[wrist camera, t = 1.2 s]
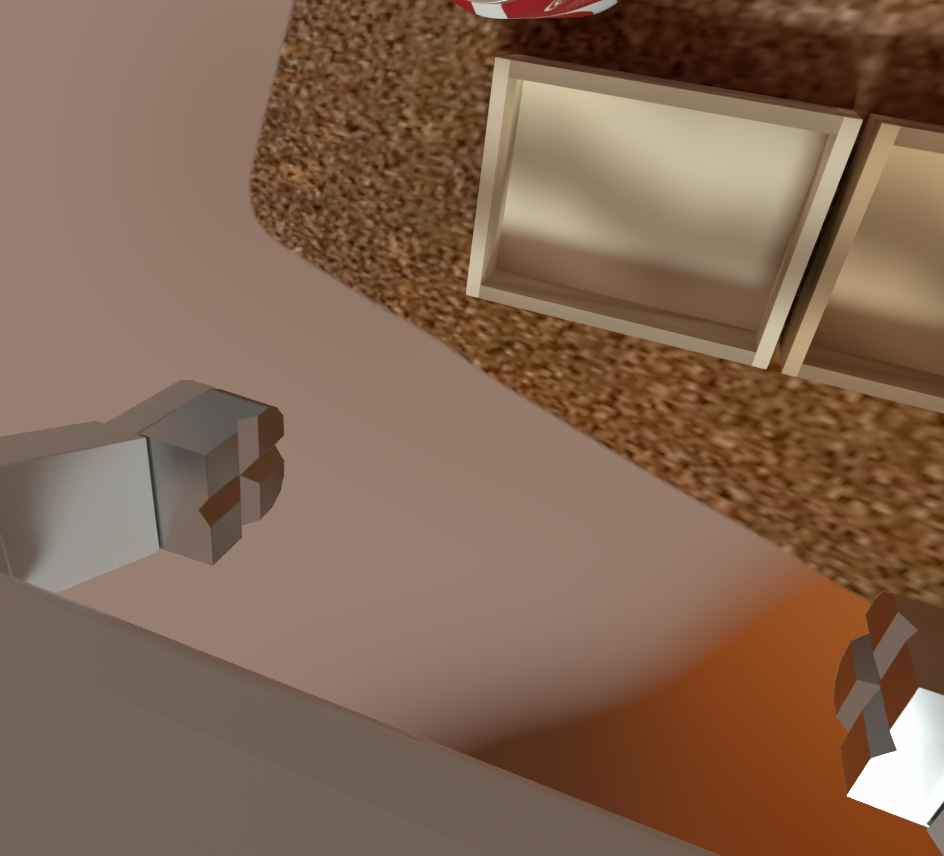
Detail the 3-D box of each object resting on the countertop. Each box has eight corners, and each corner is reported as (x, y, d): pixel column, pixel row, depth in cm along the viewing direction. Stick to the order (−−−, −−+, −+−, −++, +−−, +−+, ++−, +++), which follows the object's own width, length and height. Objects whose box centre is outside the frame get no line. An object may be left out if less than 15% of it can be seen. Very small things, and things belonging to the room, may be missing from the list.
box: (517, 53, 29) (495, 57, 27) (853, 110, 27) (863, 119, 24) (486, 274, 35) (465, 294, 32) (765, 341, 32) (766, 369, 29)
